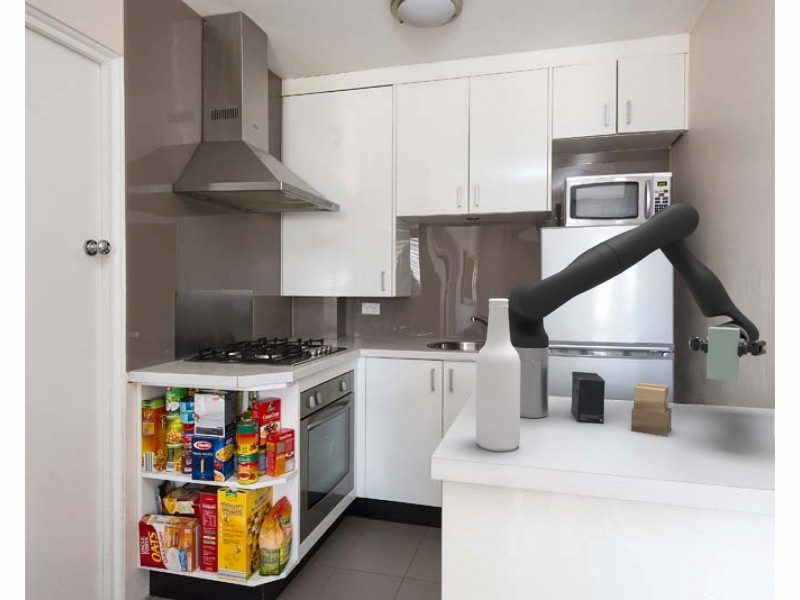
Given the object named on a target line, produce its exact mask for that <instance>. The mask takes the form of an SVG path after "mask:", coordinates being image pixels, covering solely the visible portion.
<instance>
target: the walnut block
mask: <svg viewBox="0 0 800 600" xmlns="http://www.w3.org/2000/svg"><path fill="white" fill-rule="evenodd" d="M630 430H631V432H634V431H635V433H640V432H642V433H641V434H646V433H649V435H652V434H654V435H653V436H658V435H661V436H660V437H664V436H666V437H665V438H667V437H668V435H669V434H670V432H671V430H672V407H669V408H668V409H667V410H666V411H665V413H664V414H663V413H656V412H649V411H643V410H636V409H634V407H632V408H631V428H630ZM668 433H669V434H668Z"/></svg>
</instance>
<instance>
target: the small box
mask: <svg viewBox="0 0 800 600" xmlns="http://www.w3.org/2000/svg"><path fill="white" fill-rule="evenodd" d="M571 384H572V385H571V407H570V412H571V413H572V415H573V417H574V419H575V421H576V422H578V423H580V422H581V423H592V424H593V423H594V424H595V423H596V424H604V423H605V422H604V420H605V418H604V417H605V395H606V394H605V388H606V387H605V385H606V381H605V379H604V378H602V376H600V375H599V374H598V373H597V372H583V371H572V373H571Z"/></svg>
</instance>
